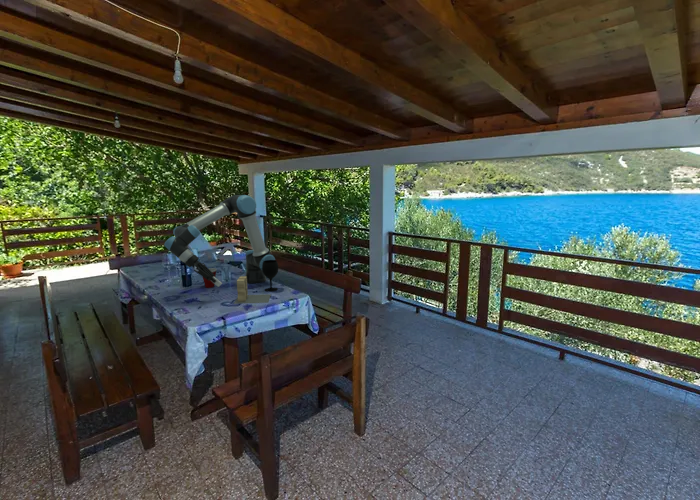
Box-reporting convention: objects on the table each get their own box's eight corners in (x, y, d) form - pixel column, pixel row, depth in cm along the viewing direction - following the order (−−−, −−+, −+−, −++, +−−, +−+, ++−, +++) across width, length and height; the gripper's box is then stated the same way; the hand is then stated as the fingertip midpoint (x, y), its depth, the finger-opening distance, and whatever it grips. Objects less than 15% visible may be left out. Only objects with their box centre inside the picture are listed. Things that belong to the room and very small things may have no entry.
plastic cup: (199, 286, 239) (197, 269, 237) (215, 283, 245) (214, 267, 243) (203, 290, 231) (202, 272, 228) (219, 287, 237) (218, 270, 235)
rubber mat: (238, 296, 218) (238, 295, 218) (271, 295, 221) (271, 294, 221) (233, 304, 203) (233, 303, 203) (268, 303, 205) (268, 302, 205)
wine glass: (262, 293, 224) (261, 263, 221) (263, 288, 234) (262, 259, 231) (279, 292, 226) (278, 262, 223) (279, 287, 236) (278, 259, 233)
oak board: (241, 296, 216) (240, 276, 213) (247, 296, 216) (246, 276, 214) (238, 301, 206) (236, 280, 203) (244, 301, 206) (243, 280, 204)
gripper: (188, 260, 209) (218, 286, 214) (180, 265, 196) (213, 292, 201) (197, 251, 208) (227, 278, 213) (189, 256, 196) (221, 283, 200)
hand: (220, 285), depth 207 cm, fingers closed
